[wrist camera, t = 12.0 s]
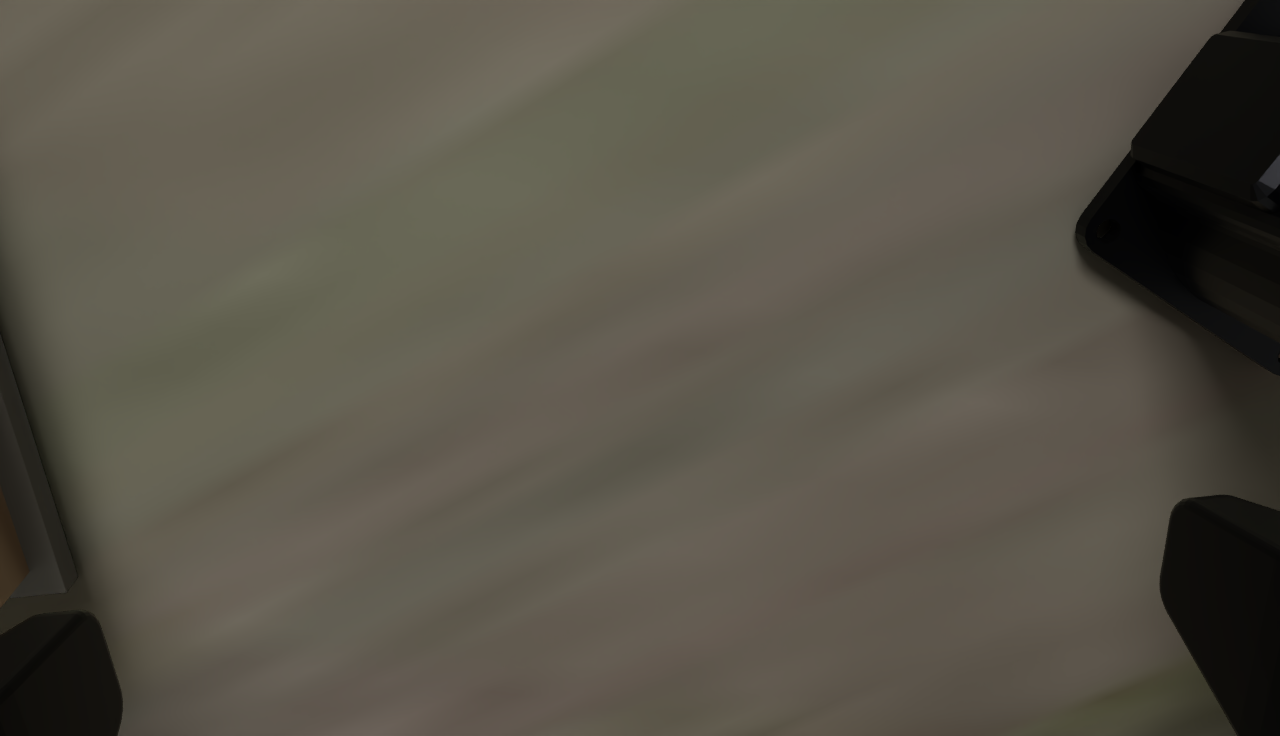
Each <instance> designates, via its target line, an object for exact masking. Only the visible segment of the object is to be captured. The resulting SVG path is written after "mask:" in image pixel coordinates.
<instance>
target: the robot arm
mask: <svg viewBox="0 0 1280 736" xmlns="http://www.w3.org/2000/svg"><path fill="white" fill-rule="evenodd" d="M1109 219H1110V223H1111V227H1110V229H1109V231H1108V233H1107V234H1106V235H1104V236H1103V237H1101V238H1097V229H1098V227H1099V225H1100V224H1101V223H1103V222H1104V221H1105V220H1109ZM1076 236H1077V239H1078V241H1079V242H1080V243H1081V245H1082V246H1083V247H1085V248H1086V249H1088V250H1089V251H1091V252H1092V253H1094V254H1095V255H1097V256H1098V257H1100V258H1101V259H1103V260H1104V261H1106V262H1107V263H1108V264H1110V265H1111V266H1113V267H1114V268H1116V269H1117V270H1119V271H1120V272H1122V273H1123V274H1125V275H1126V276H1128V277H1129V278H1131V279H1132V280H1134V281H1135V282H1137V283H1138V284H1140V285H1141V286H1143V287H1144V288H1146V289H1147V290H1149V291H1150V292H1152V293H1153V294H1155V295H1156V296H1158V297H1159V298H1160V299H1162V300H1163V301H1165V302H1166V303H1168V304H1169V305H1171V306H1172V307H1174V308H1175V309H1177V310H1178V311H1180V312H1181V313H1183V314H1184V315H1186V316H1187V317H1189V318H1190V319H1192V320H1193V321H1195V322H1196V323H1198V324H1199V325H1201V326H1202V327H1204V328H1205V329H1207V330H1208V331H1210V332H1211V333H1213V334H1214V335H1215V336H1217V337H1218V338H1220V339H1221V340H1223V341H1224V342H1226V343H1227V344H1229V345H1230V346H1232V347H1233V348H1235V349H1236V350H1238V351H1239V352H1241V353H1242V354H1244V355H1245V356H1247V357H1248V358H1250V359H1251V360H1253V361H1254V362H1256V363H1257V364H1259V365H1260V366H1262V367H1263V368H1265V369H1267V370H1268V371H1270V372H1272V373H1274V374H1276V375H1279V376H1280V358H1278V355H1279V353H1280V0H1245V1H1244V2H1243V4H1242V5H1241V6H1240V8H1239V9H1238V10H1237V12H1236V13H1235V14H1234V16H1233V17H1232V18H1231V19H1230V21H1229V22H1228V23H1227V25H1226V26H1225V27H1224V29H1223V30H1222V31H1221V33H1219V34H1215V35H1213V36H1212V37H1211V38H1210V39H1209V40H1208V41H1207V43H1206V44H1205V45H1204V47H1203V48H1202V49H1201V50H1200V52H1199V53H1198V54H1197V56H1196V57H1195V58H1194V60H1193V61H1192V62H1191V64H1190V65H1189V66H1188V68H1187V69H1186V70H1185V71H1184V73H1183V74H1182V75H1181V77H1180V78H1179V79H1178V81H1177V82H1176V83H1175V85H1174V86H1173V87H1172V88H1171V90H1170V91H1169V92H1168V94H1167V95H1166V96H1165V98H1164V99H1163V100H1162V102H1161V103H1160V104H1159V106H1158V107H1157V108H1156V109H1155V111H1154V112H1153V113H1152V115H1151V116H1150V117H1149V119H1148V120H1147V121H1146V123H1145V124H1144V125H1143V127H1142V128H1141V129H1140V130H1139V132H1138V133H1137V134H1136V136H1135V137H1134V138H1133V140H1132V143H1131V150H1130V152H1129V153H1128V154H1127V155H1126V157H1125V158H1124V159H1123V161H1122V162H1121V163H1120V165H1119V166H1118V167H1117V169H1116V170H1115V171H1114V172H1113V174H1112V175H1111V176H1110V178H1109V179H1108V180H1107V182H1106V183H1105V184H1104V186H1103V187H1102V188H1101V189H1100V191H1099V192H1098V193H1097V195H1096V196H1095V197H1094V199H1093V200H1092V201H1091V203H1090V204H1089V205H1088V206H1087V208H1086V209H1085V210H1084V212H1083V213H1082V214H1081V216H1080V218H1079V220H1078V222H1077V225H1076ZM1160 593H1161V598H1162V601H1163V604H1164V607H1165V609H1166V611H1167V613H1168V615H1169V617H1170V618H1171V620H1172V622H1173V624H1174V625H1175V627H1176V629H1177V631H1178V633H1179V634H1180V636H1181V638H1182V640H1183V641H1184V643H1185V645H1186V647H1187V648H1188V650H1189V652H1190V654H1191V655H1192V657H1193V659H1194V661H1195V662H1196V664H1197V666H1198V668H1199V669H1200V671H1201V673H1202V675H1203V676H1204V678H1205V680H1206V682H1207V683H1208V685H1209V687H1210V689H1211V690H1212V692H1213V694H1214V696H1215V697H1216V699H1217V701H1218V703H1219V704H1220V706H1221V708H1222V710H1223V711H1224V713H1225V715H1226V717H1227V718H1228V720H1229V722H1230V724H1231V725H1232V727H1233V729H1234V731H1235V732H1236V734H1237V736H1280V511H1277V510H1274V509H1271V508H1268V507H1265V506H1262V505H1258V504H1255V503H1252V502H1249V501H1246V500H1243V499H1240V498H1237V497H1234V496H1230V495H1214V496H1204V497H1195V498H1187V499H1183V500H1181V501H1180V502H1178V503H1177V504H1176V505H1175V506H1174V508H1173V510H1172V512H1171V516H1170V520H1169V526H1168V532H1167V538H1166V544H1165V550H1164V556H1163V562H1162V568H1161V574H1160ZM122 712H123V699H122V692H121V688H120V685H119V681H118V678H117V675H116V672H115V669H114V666H113V662H112V659H111V656H110V653H109V650H108V647H107V643H106V640H105V637H104V634H103V631H102V628H101V625H100V623H99V621H98V620H97V618H96V617H95V615H94V614H92V613H90V612H88V611H86V610H73V611H63V612H53V613H43V614H39V615H35V616H32V617H30V618H28V619H27V620H25V621H23V622H22V623H20V624H18V625H17V626H15V627H13V628H12V629H10V630H8V631H7V632H5V633H3V634H2V635H0V736H117V735H118V731H119V728H120V724H121V720H122Z"/></svg>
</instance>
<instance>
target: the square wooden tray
mask: <svg viewBox="0 0 1280 736" xmlns="http://www.w3.org/2000/svg"><path fill="white" fill-rule="evenodd" d="M77 578H78V575H77V572H76V569H75V566H74V563H73V560H72V556H71V553H70V550H69V547H68V544H67V541H66V538H65V535H64V531H63V528H62V525H61V522H60V519H59V516H58V513H57V509H56V506H55V503H54V500H53V497H52V494H51V491H50V488H49V484H48V481H47V478H46V475H45V472H44V469H43V466H42V463H41V459H40V456H39V453H38V450H37V447H36V444H35V441H34V437H33V434H32V431H31V428H30V425H29V422H28V419H27V416H26V412H25V409H24V406H23V403H22V400H21V397H20V394H19V391H18V387H17V384H16V381H15V378H14V375H13V372H12V369H11V365H10V362H9V359H8V356H7V353H6V350H5V347H4V344H3V340H2V337H1V334H0V608H1V607H2V606H3V604H4V603H5V602H6V601H7V599H8V598H18V597H28V596H38V595H48V594H58V593H67V591H68V590H69V589H70V587H71V586H72V584H73V583H74V582H75V580H76V579H77Z"/></svg>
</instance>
